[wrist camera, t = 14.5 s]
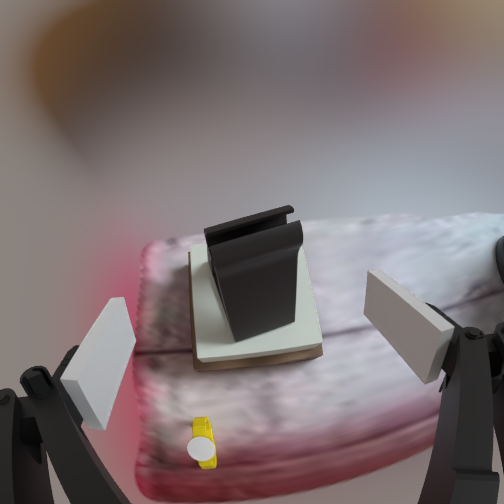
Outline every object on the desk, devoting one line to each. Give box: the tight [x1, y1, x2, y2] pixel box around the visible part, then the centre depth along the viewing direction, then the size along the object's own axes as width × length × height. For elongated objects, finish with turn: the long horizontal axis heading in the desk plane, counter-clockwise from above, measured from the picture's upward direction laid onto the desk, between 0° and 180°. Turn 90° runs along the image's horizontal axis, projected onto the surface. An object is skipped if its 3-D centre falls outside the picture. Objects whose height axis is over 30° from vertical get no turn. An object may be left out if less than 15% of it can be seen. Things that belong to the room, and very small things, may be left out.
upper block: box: [190, 244, 323, 363], centre depth 31 cm, size 12×12×4 cm
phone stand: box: [204, 205, 303, 342], centre depth 24 cm, size 9×6×12 cm, turn 19°
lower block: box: [188, 245, 323, 371], centre depth 35 cm, size 14×14×4 cm
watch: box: [187, 417, 217, 469], centre depth 26 cm, size 6×3×6 cm, turn 10°
